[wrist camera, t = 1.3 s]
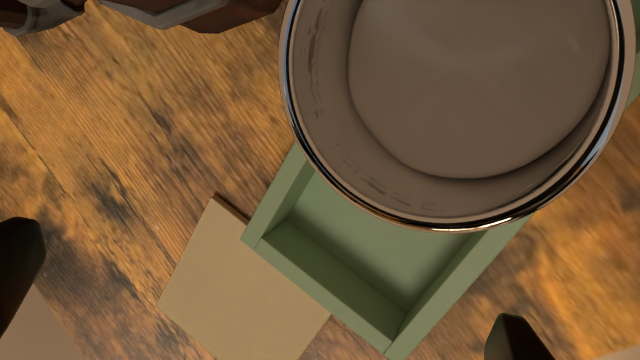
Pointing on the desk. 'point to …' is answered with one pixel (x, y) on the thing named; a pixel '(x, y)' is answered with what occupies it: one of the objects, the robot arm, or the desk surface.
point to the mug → (136, 13)
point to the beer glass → (454, 102)
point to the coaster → (237, 295)
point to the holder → (372, 254)
